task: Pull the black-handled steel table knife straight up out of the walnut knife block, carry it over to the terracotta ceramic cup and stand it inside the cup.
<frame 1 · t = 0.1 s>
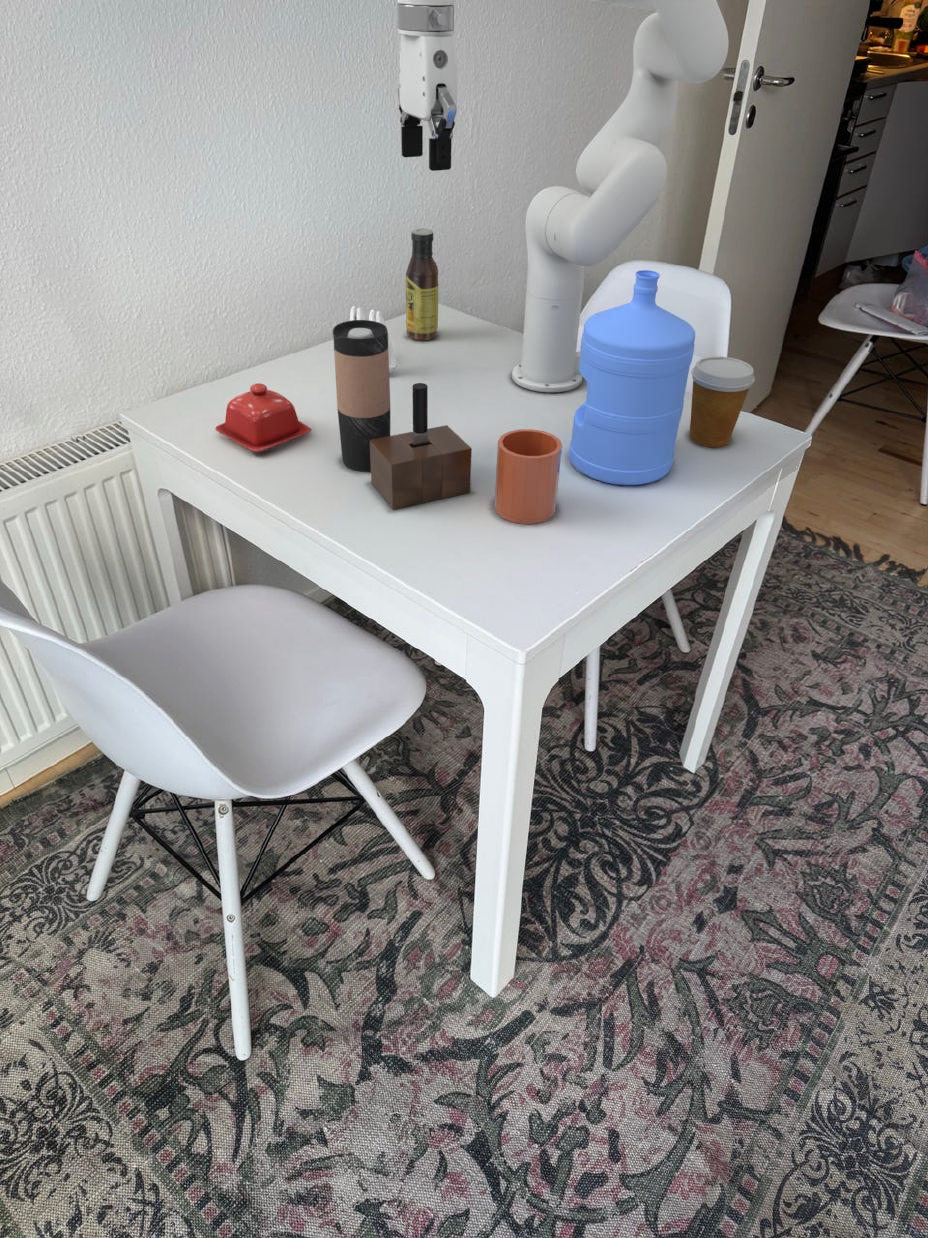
hand: (425, 162, 129), 37 cm above the table, tool pointing down, fingers open, 9 cm apart
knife: (420, 438, 123), in the knife block
butter dish: (264, 437, 139), on the table
water jug: (619, 463, 135), on the table
shaker set: (371, 369, 162), on the table
cup: (524, 508, 124), on the table
knife block: (420, 488, 127), on the table
disposable coffee cup: (708, 439, 143), on the table
travel mug: (366, 461, 134), on the table
sauce bottle: (422, 337, 175), on the table
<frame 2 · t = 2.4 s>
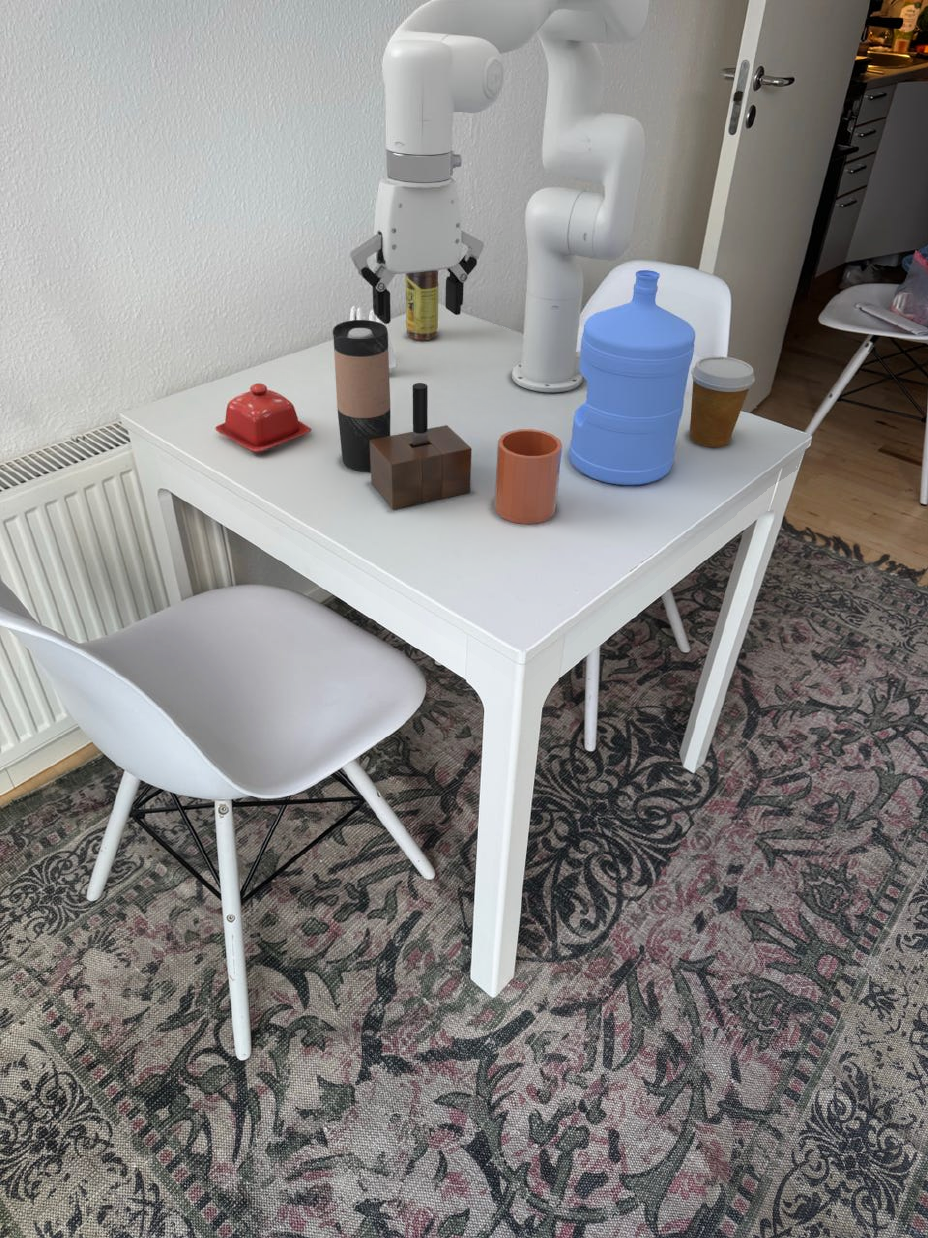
hand: (418, 315, 113), 25 cm above the table, tool pointing down, fingers open, 9 cm apart
nothing on the table moved.
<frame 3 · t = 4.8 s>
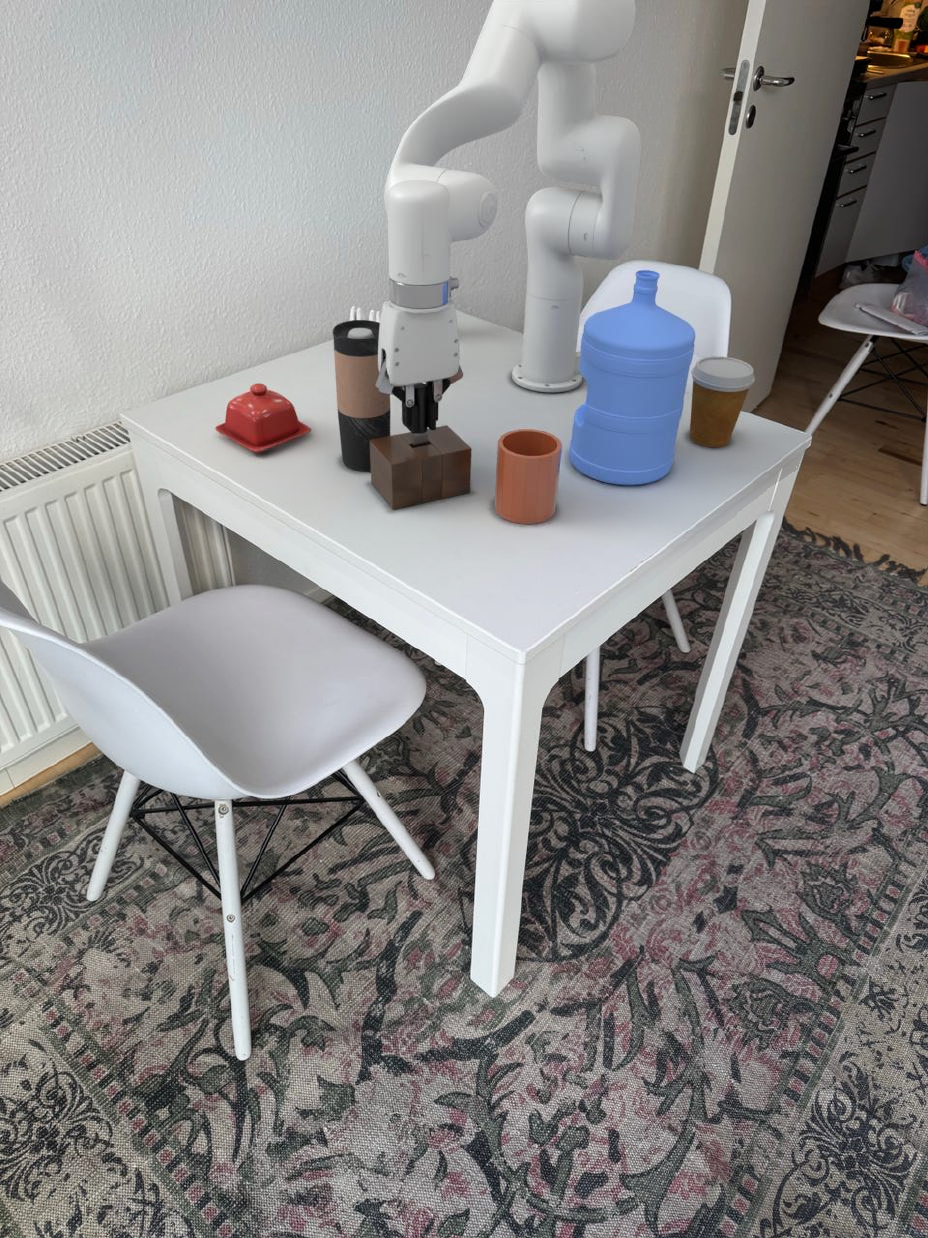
hand: (420, 426, 122), 10 cm above the table, tool pointing down, fingers closed on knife, 2 cm apart
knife: (420, 438, 123), in the knife block, touching gripper
everything else where it was.
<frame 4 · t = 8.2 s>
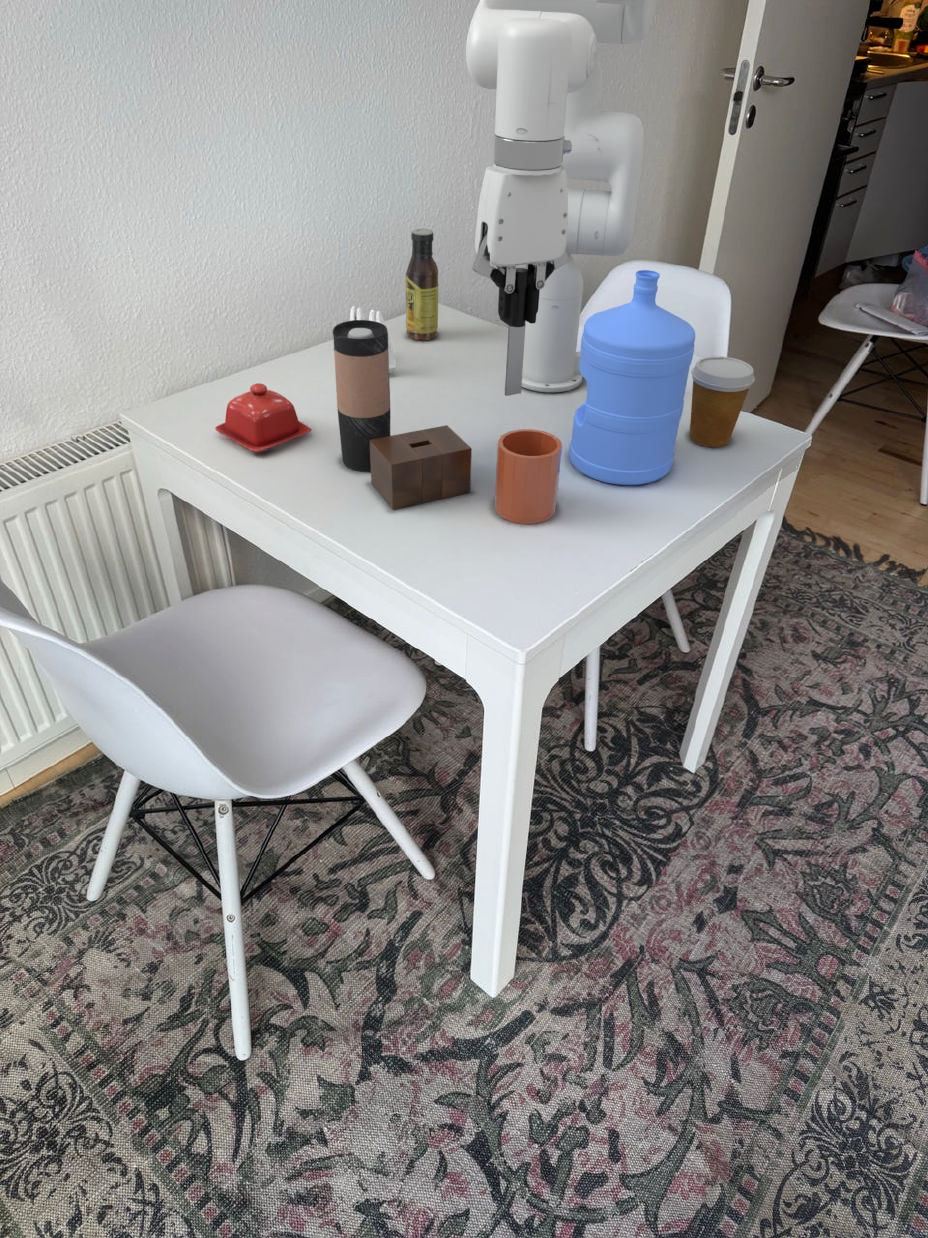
hand: (517, 320, 108), 26 cm above the table, tool pointing down, fingers closed on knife, 2 cm apart
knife: (516, 334, 110), point 24 cm above the table, touching gripper
everything else where it was.
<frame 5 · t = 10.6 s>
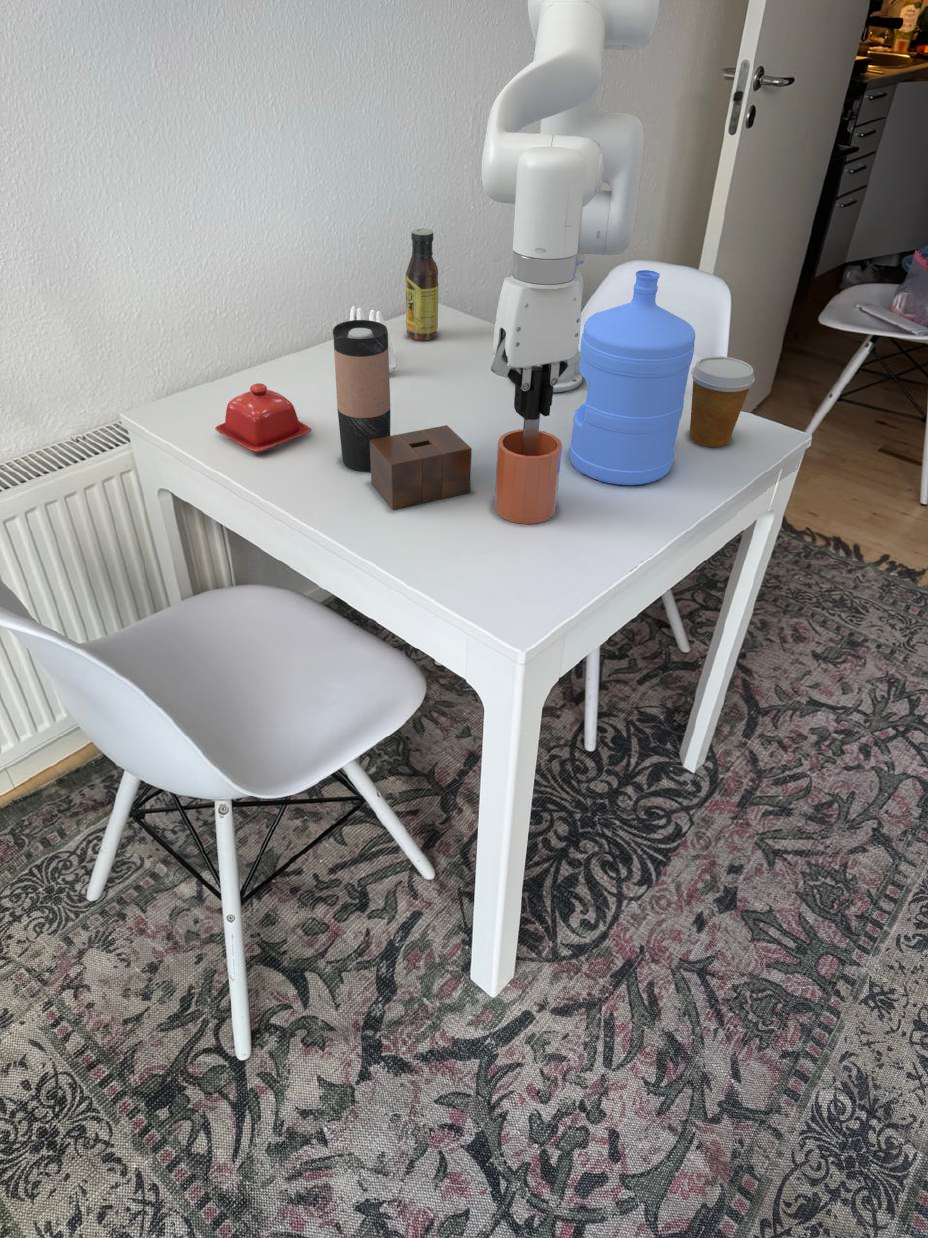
hand: (532, 412, 115), 14 cm above the table, tool pointing down, fingers closed on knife, 2 cm apart
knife: (531, 425, 116), point 12 cm above the table, touching gripper
everything else where it was.
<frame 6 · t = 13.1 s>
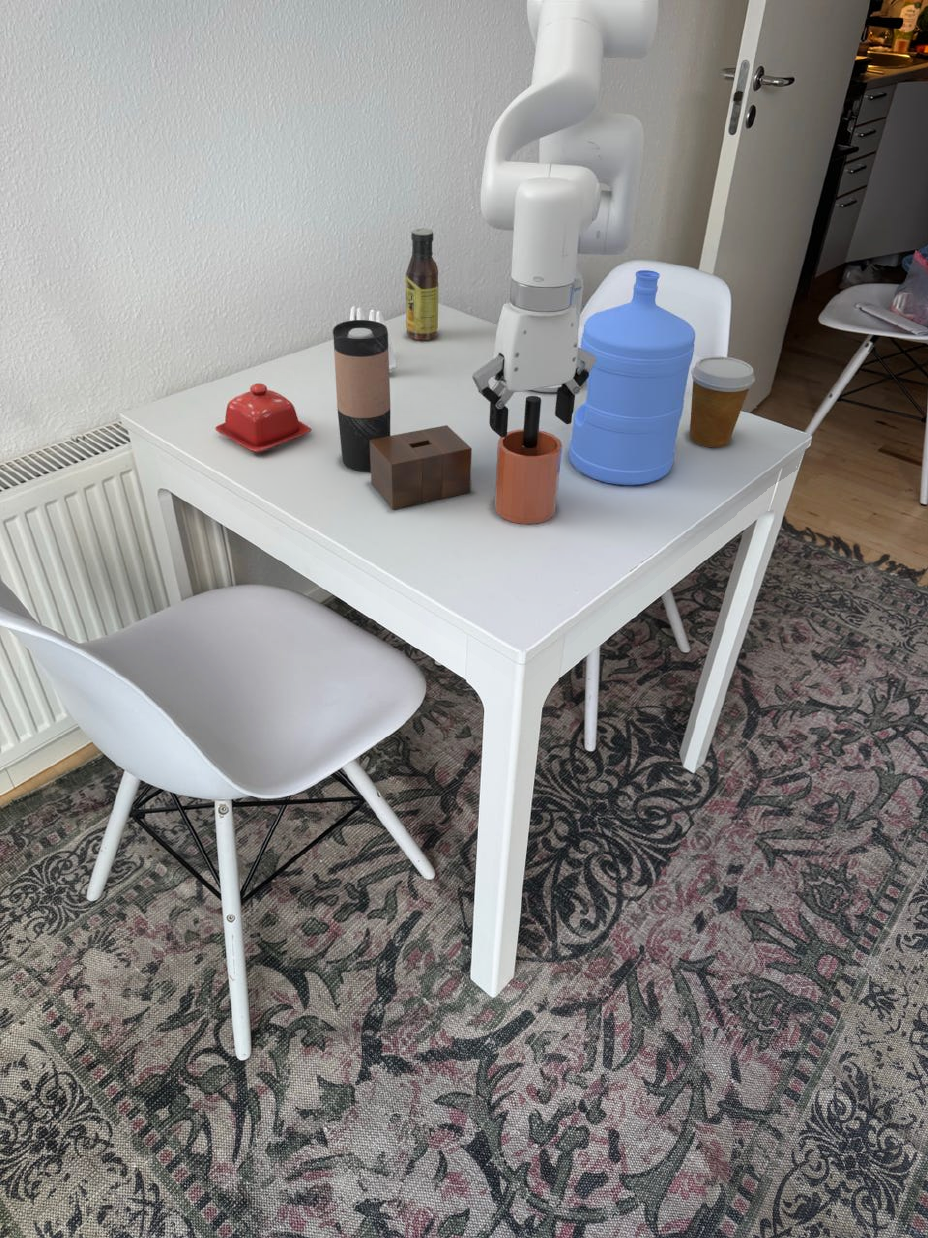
hand: (531, 426, 116), 12 cm above the table, tool pointing down, fingers open, 9 cm apart
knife: (529, 453, 118), in the cup, point 8 cm above the table
cup: (524, 508, 124), on the table, touching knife
everything else where it was.
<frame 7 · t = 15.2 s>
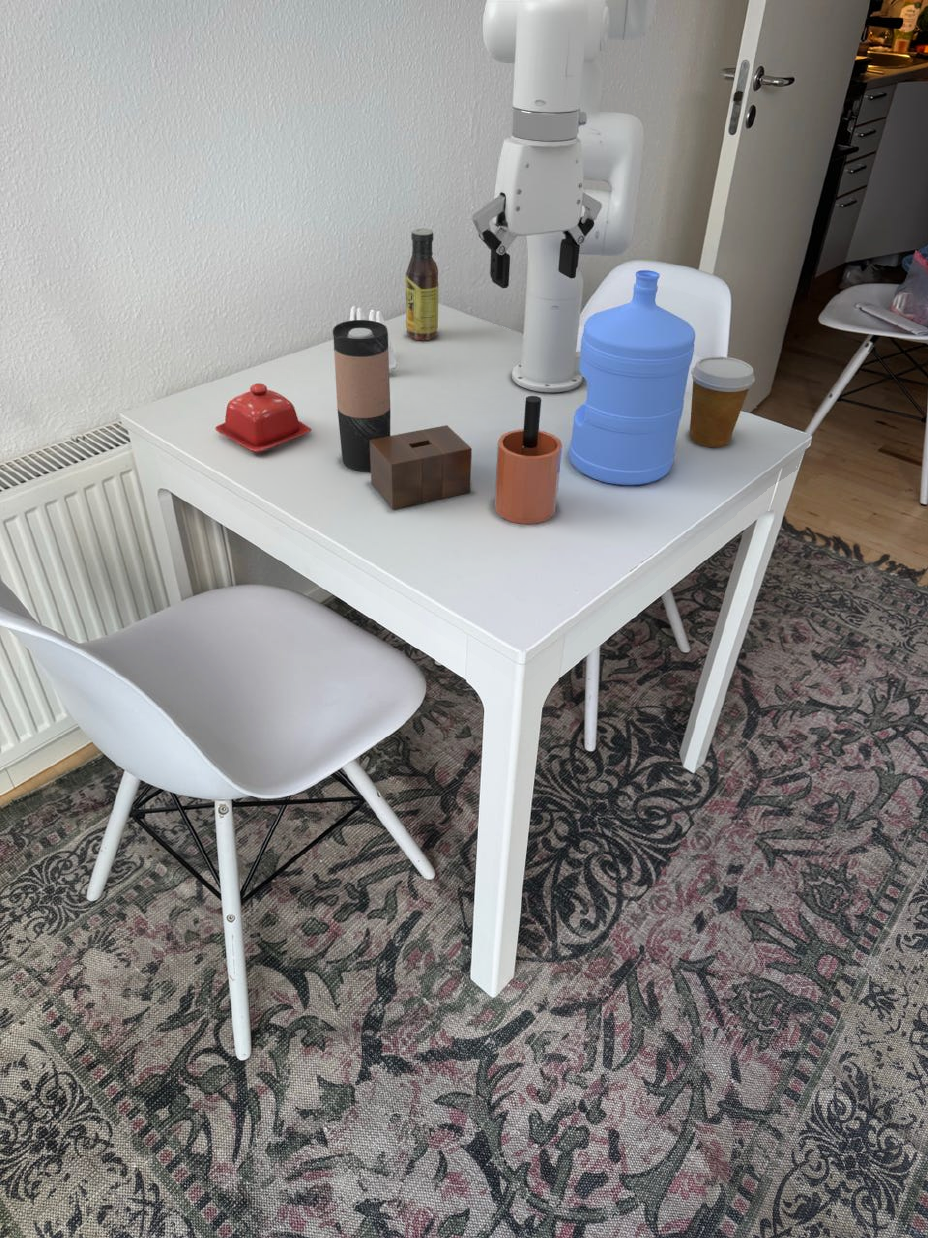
hand: (533, 279, 111), 29 cm above the table, tool pointing down, fingers open, 9 cm apart
nothing on the table moved.
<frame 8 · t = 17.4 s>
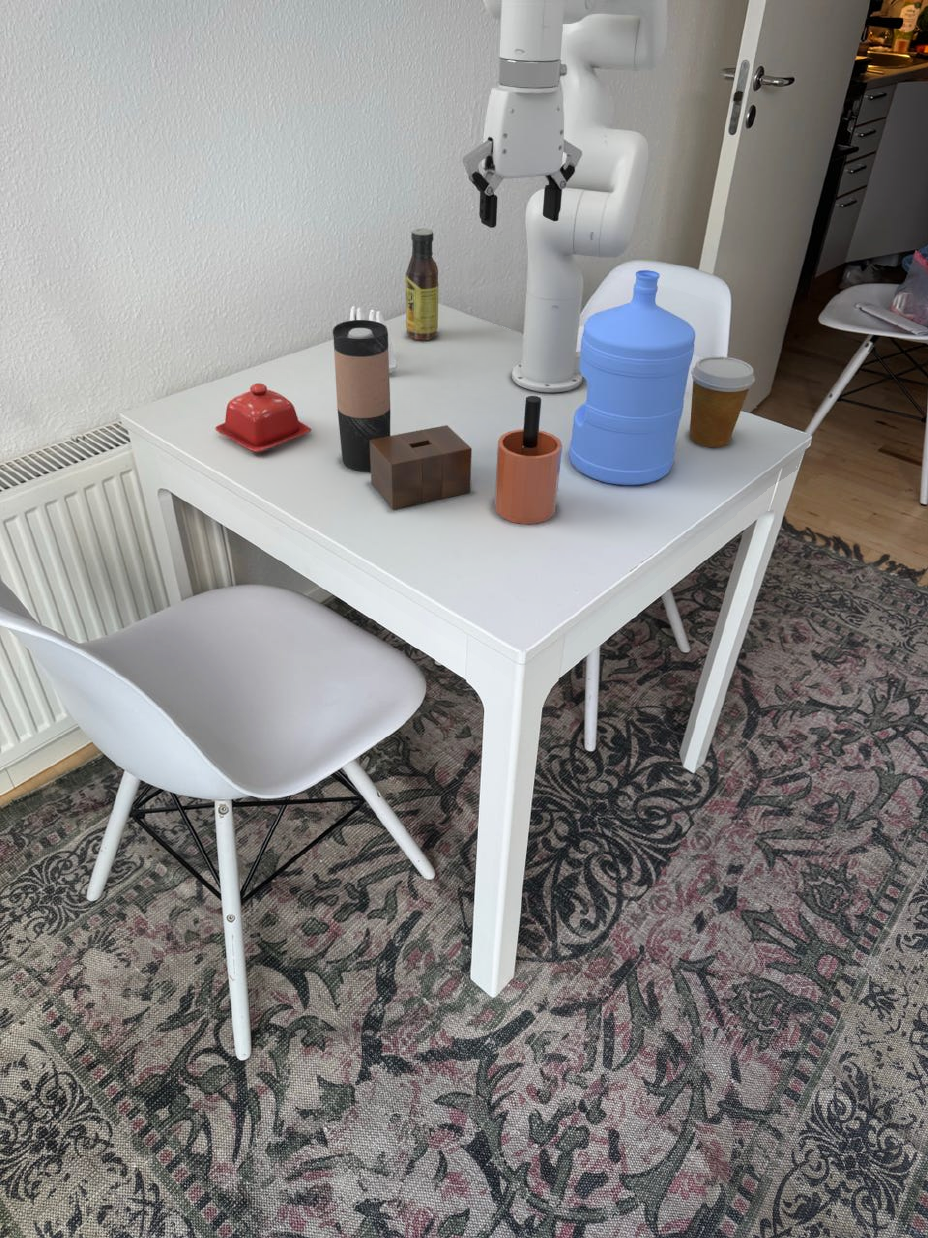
hand: (519, 221, 121), 32 cm above the table, tool pointing down, fingers open, 9 cm apart
nothing on the table moved.
at the end: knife inside the target area in the cup (0.1 cm from its centre), point 8.5 cm above the cup's base; the gripper is holding nothing; cup tilted 0° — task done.
